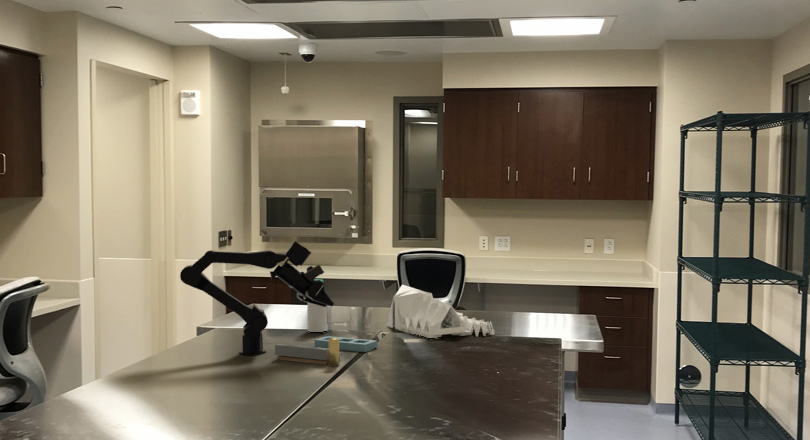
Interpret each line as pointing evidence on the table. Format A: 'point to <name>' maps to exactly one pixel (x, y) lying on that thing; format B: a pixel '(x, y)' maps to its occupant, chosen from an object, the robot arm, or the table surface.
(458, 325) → the white faceted model
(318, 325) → the milk bottle
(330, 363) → the brass pin
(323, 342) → the socket board
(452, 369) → the table surface
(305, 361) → the plate
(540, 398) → the table surface
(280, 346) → the sliding cover
